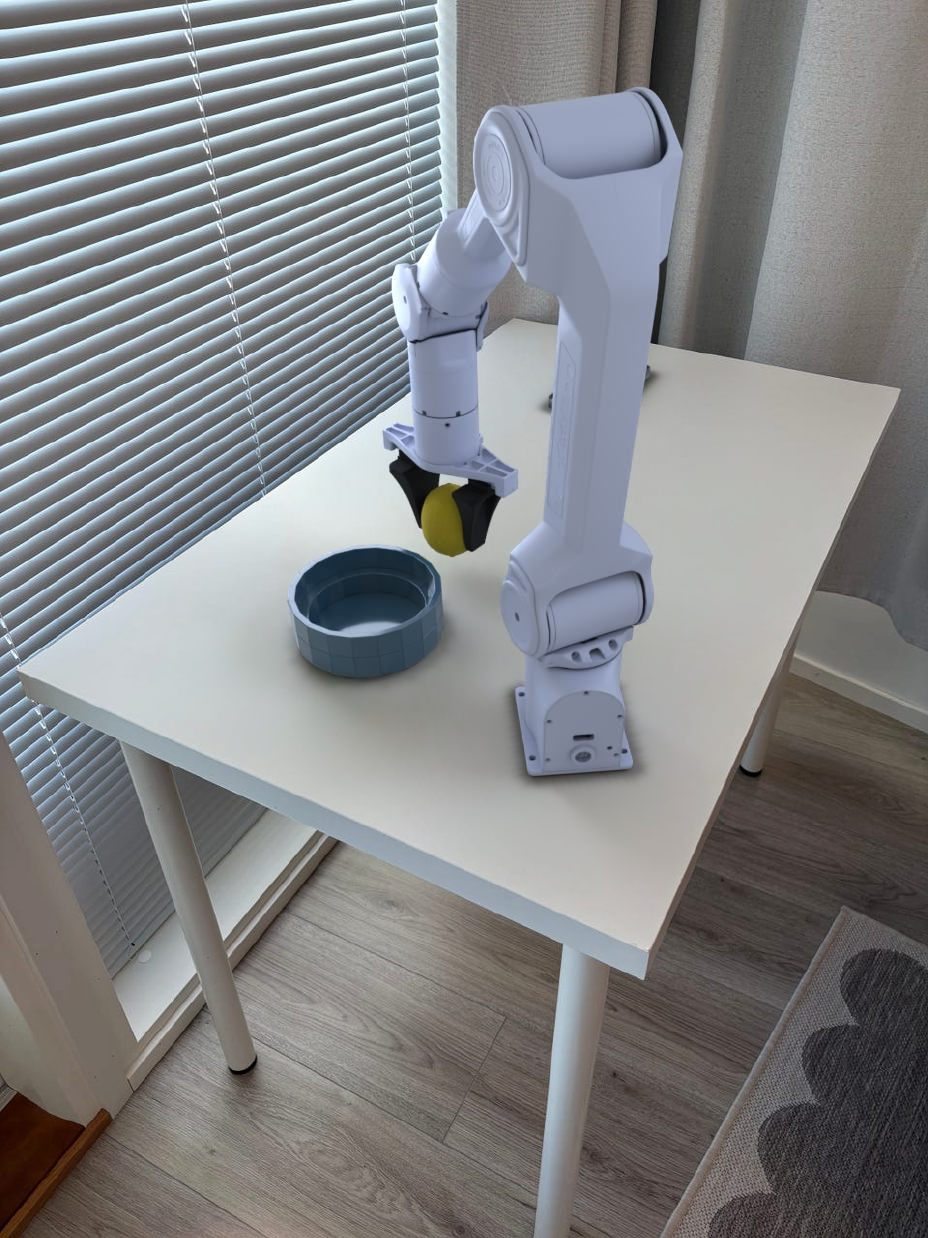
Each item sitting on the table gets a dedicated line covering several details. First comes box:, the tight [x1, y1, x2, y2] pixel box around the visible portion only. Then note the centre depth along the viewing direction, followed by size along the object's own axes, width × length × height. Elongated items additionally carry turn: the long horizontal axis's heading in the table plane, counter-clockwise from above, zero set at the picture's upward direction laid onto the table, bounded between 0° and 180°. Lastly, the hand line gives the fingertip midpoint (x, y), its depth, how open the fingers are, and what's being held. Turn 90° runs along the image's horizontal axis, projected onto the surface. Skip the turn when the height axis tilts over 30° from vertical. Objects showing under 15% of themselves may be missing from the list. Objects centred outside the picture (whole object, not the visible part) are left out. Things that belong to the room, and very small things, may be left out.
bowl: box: [287, 543, 445, 678], centre depth 84 cm, size 13×13×5 cm
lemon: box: [421, 482, 469, 558], centre depth 89 cm, size 6×6×8 cm
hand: (451, 535), depth 90 cm, fingers closed on lemon, 5 cm apart
